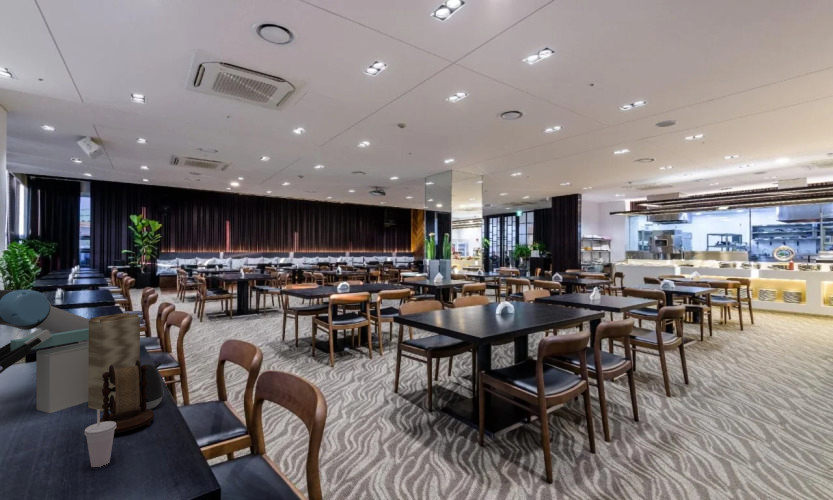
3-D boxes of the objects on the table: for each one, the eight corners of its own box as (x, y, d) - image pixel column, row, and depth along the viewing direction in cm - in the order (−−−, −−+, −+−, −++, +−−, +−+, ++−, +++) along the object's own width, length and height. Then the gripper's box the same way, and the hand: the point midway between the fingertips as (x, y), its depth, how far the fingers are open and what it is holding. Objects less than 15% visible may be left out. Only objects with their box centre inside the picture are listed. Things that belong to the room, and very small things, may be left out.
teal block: (16, 352, 123) (16, 341, 123) (10, 351, 124) (10, 340, 124) (96, 338, 143) (96, 328, 143) (90, 337, 144) (90, 327, 144)
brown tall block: (102, 411, 131) (102, 319, 130) (88, 407, 134) (88, 317, 133) (139, 398, 142) (140, 314, 141) (125, 395, 145) (126, 312, 145)
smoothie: (96, 457, 102) (96, 404, 102) (122, 456, 103) (122, 404, 103) (77, 471, 96) (77, 415, 96) (104, 470, 97) (105, 414, 96)
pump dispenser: (171, 404, 137) (171, 361, 137) (141, 416, 127) (142, 370, 127) (150, 400, 141) (150, 358, 141) (120, 411, 131) (120, 366, 131)
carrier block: (49, 413, 129) (49, 354, 128) (36, 409, 132) (36, 351, 132) (103, 396, 143) (104, 343, 143) (90, 393, 146) (91, 340, 146)
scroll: (100, 444, 109) (100, 373, 109) (89, 427, 119) (89, 362, 119) (160, 426, 121) (160, 362, 121) (146, 412, 130) (146, 353, 130)
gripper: (-40, 380, 107) (52, 325, 126) (-66, 372, 113) (25, 321, 132) (-21, 399, 111) (66, 343, 129) (-47, 390, 117) (39, 338, 136)
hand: (45, 332), depth 131 cm, fingers closed on teal block, 3 cm apart
